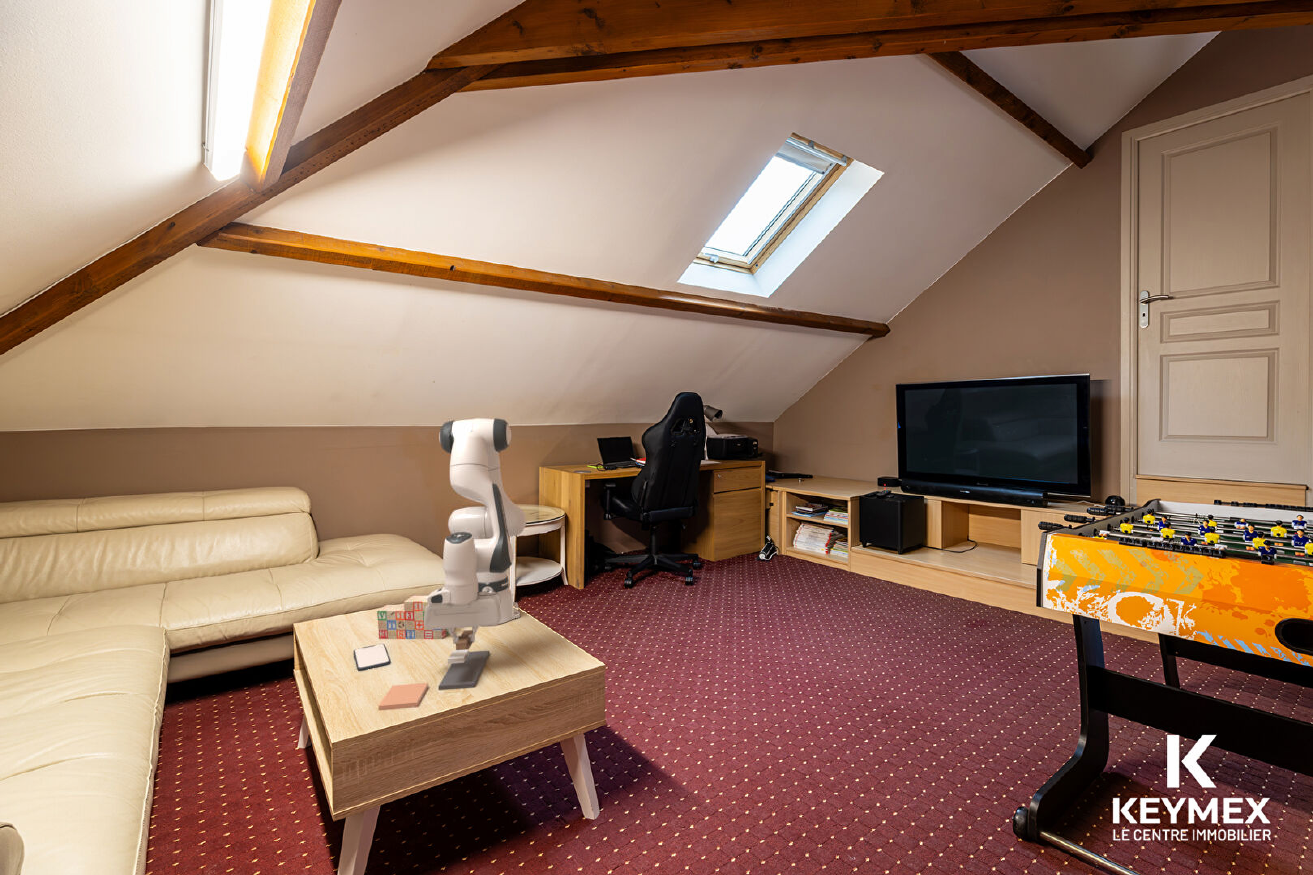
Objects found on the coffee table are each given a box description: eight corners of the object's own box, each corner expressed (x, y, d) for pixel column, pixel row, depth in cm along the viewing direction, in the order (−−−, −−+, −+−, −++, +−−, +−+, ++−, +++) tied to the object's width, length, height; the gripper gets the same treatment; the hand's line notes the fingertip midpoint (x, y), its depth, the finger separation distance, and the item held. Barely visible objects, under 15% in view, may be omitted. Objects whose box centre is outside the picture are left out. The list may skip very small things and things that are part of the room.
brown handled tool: (461, 641, 177) (461, 630, 177) (476, 640, 177) (475, 629, 177) (448, 663, 161) (447, 652, 161) (463, 662, 161) (463, 651, 161)
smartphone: (391, 666, 178) (384, 647, 191) (391, 661, 178) (384, 642, 191) (357, 674, 173) (353, 654, 187) (357, 668, 173) (352, 649, 187)
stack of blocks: (378, 639, 198) (376, 601, 197) (388, 632, 204) (386, 595, 204) (442, 639, 196) (440, 601, 195) (451, 632, 202) (449, 595, 202)
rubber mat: (458, 655, 182) (458, 652, 182) (489, 653, 183) (489, 650, 183) (438, 689, 160) (438, 685, 160) (474, 687, 161) (474, 683, 161)
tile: (392, 685, 161) (378, 705, 150) (428, 682, 162) (416, 702, 151) (392, 691, 161) (378, 712, 150) (428, 688, 162) (417, 708, 151)
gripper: (502, 587, 174) (504, 635, 175) (427, 591, 173) (429, 640, 173) (498, 593, 168) (500, 644, 169) (420, 598, 166) (423, 649, 167)
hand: (464, 642), depth 171 cm, fingers closed on brown handled tool, 3 cm apart
